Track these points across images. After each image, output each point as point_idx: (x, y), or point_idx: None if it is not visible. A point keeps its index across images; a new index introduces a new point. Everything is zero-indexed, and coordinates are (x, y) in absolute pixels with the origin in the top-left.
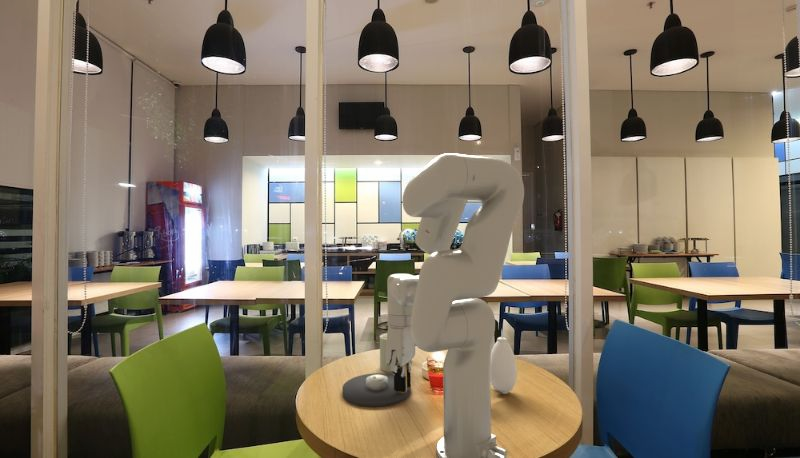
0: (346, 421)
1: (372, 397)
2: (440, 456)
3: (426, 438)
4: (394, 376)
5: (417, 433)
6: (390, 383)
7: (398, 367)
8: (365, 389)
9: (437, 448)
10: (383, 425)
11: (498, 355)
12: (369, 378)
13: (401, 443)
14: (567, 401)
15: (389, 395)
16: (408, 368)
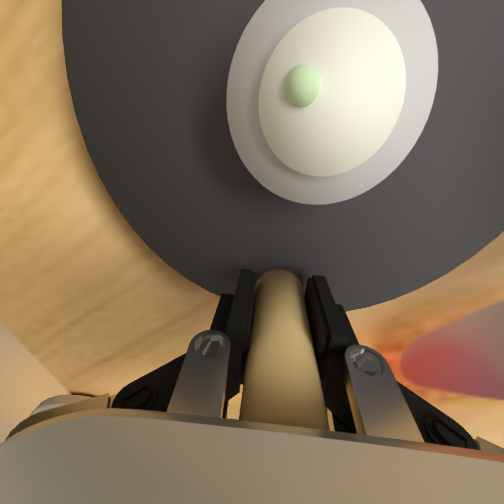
0: (2, 93)
1: (141, 165)
2: (34, 410)
3: (98, 369)
4: (228, 322)
5: (105, 349)
6: (376, 192)
7: (246, 409)
8: (226, 47)
9: (48, 407)
10: (81, 256)
11: None
12: (315, 14)
13: (39, 327)
14: None
15: (207, 246)
16: (330, 424)
